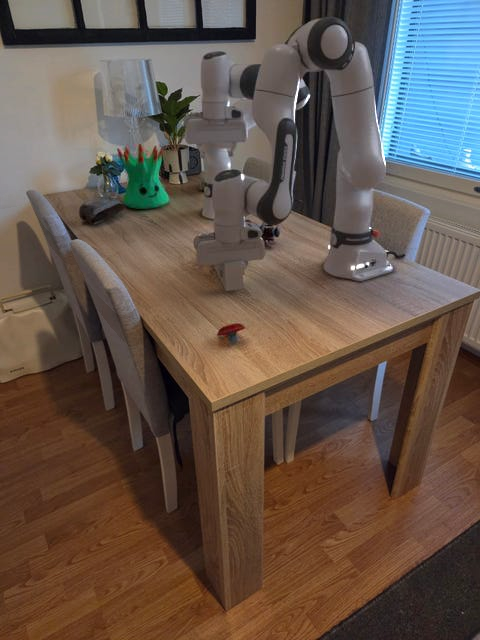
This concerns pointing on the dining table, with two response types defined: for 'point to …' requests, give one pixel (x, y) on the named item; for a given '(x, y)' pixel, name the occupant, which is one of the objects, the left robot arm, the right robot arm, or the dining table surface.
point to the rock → (100, 209)
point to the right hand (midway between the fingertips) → (231, 275)
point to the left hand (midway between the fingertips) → (216, 157)
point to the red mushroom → (231, 331)
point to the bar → (232, 275)
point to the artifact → (202, 184)
